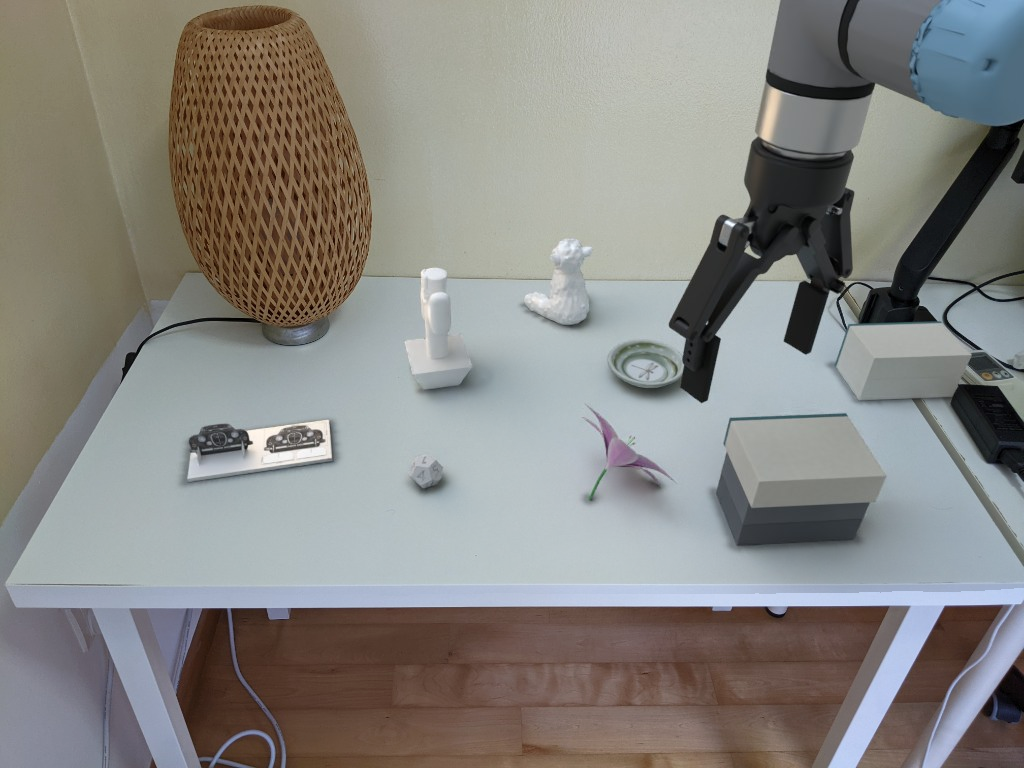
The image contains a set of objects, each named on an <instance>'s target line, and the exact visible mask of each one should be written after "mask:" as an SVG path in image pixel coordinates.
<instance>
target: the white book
mask: <svg viewBox="0 0 1024 768" xmlns="http://www.w3.org/2000/svg"><path fill="white" fill-rule="evenodd" d="M722 445H723V447H724V448H725V450H726V452H727V453H728V455H729V458H730V460H731V462H732V464H733V467H734V469H735V471H736V474H737V476H738V478H739V480H740V483H741V485H742V487H743V490H744V492H745V494H746V496H747V499H748V501H749V503H750V506H751V508H761V507H782V506H803V505H824V504H845V503H865V502H870V503H876V502H877V499H878V497H879V495H880V492H881V490H882V488H883V486H884V483H885V481H886V478H887V474H886V472H885V471H884V469H883V468H882V466H881V465H880V463H879V461H878V460H877V459H876V457H875V456H874V454H873V452H872V451H871V450H870V448H869V446H868V445H867V442H865V440H864V439H863V437H862V436H861V434H860V432H859V431H858V430H857V427H856V426H855V425H854V423H853V422H852V420H851V419H850V417H849V415H848V414H847V413H846V412H843V413H842V412H841V413H840V412H839V413H819V414H818V413H816V414H815V413H814V414H813V413H812V414H791V415H787V414H786V415H766V416H763V415H761V416H739V417H736V416H735V417H729V419H728V423H727V426H726V431H725V435H724V440H723V444H722Z"/></svg>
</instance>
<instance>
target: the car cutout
mask: <svg viewBox="0 0 1024 768" xmlns="http://www.w3.org/2000/svg"><path fill="white" fill-rule="evenodd" d="M331 437H332V436H331V423H330V419H323V420H321V419H320V420H315V421H308V422H300V423H293V424H292V423H291V424H286V425H278V426H270V427H263V428H256V429H247V430H246V429H243V428H235V427H233V425H231V424H230V423H214V424H209V425H204V426H202V427H201V428H200V429H199V432H198V433H196V434H193V435H190V437H189V438H188V445H189V446H190V448H189V449H188V452H189V453H190V455H189V463H188V469H187V476H186V477H187V478H186V480H187V482H188V483H192V482H198V481H205V480H212V479H218V478H226V477H233V476H239V475H246V474H252V473H259V472H260V473H261V472H267V471H273V470H282V469H287V468H294V467H295V468H296V467H301V466H309V465H313V464H321V463H329V462H333V449H332V438H331Z"/></svg>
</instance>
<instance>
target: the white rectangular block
mask: <svg viewBox="0 0 1024 768" xmlns="http://www.w3.org/2000/svg"><path fill="white" fill-rule="evenodd" d="M972 355H973V354H972V353H971V352H970V351H969V350H968V349H967V348H966V347H965V346H964V344H962V342H961V341H960V340H959V339H958V338H957V337H956V336H955V335H954V334H953V333H952V332H951V331H950V330H949V329H948V328H947V327H946V325H945V324H943V322H942V321H941V320H940V321H939V320H937V321H934V320H933V321H904V322H903V321H902V322H873V323H870V322H869V323H848V324H847V327H846V331H845V334H844V336H843V340H842V342H841V346H840V348H839V352H838V354H837V357H836V361H835V363H834V367H835V369H836V370H837V371H838V372H839V374H840V375H841V377H842V378H843V379H844V381H845V383H846V384H847V385H848V387H849V388H850V390H851V391H852V392H853V394H854V396H855V397H856V398H857V400H858V401H878V400H879V401H881V400H904V399H905V400H907V399H930V398H931V399H932V398H953V396H954V395H955V392H956V390H957V388H958V385H959V384H960V382H961V380H962V377H963V376H964V373H965V371H966V369H967V366H968V364H969V363H970V360H971V358H972Z"/></svg>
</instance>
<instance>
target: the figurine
mask: <svg viewBox="0 0 1024 768" xmlns="http://www.w3.org/2000/svg"><path fill="white" fill-rule="evenodd" d="M420 279H421V281H420V293H419V295H420V306H421V307H420V308H421V317H422V319H423V320H424V326H425V329H424V330H425V337H421V338H415V339H406V340H403V342H404V345H405V349H406V350H405V351H406V354H407V359H408V362H409V365H410V370H411V374H412V376H413V377H414V379H415V380H416V381H417V383H418V384H419V385H420V386H421V388H422V389H423V390H425V391H426V390H434V389H439V388H441V389H442V388H448V387H455V386H460V385H461V384H462V382H463V380H464V379H465V378H466V377H467V375H468V373H470V371H471V370H472V368H473V367H474V366H473V364H472V361H471V359H470V355H469V353H468V349H467V347H466V343H465V341H464V338H463V335H462V333H453V334H448V333H449V332H450V330H451V327H452V309H451V306H452V305H451V297H450V295H449V294H448V293H447V284H448V272H447V271H446V270H445V269H443V268H440V267H429V268H427V269H425V268H423V269H422V270H421V272H420Z"/></svg>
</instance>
